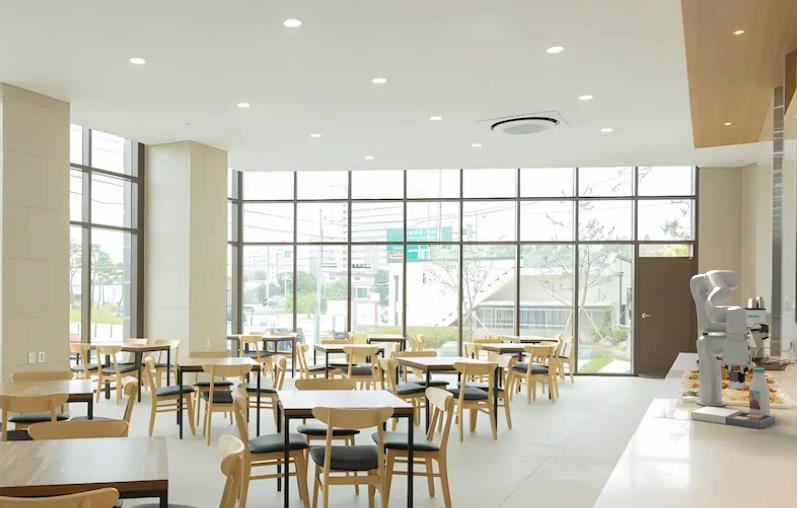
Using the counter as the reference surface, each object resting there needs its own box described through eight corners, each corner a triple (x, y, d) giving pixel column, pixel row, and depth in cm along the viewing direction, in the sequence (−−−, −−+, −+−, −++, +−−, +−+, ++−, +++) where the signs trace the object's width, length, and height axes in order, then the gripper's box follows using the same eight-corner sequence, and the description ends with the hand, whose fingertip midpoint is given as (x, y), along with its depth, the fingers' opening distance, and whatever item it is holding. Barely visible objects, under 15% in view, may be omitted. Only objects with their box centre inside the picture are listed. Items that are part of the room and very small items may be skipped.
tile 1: (737, 420, 293) (737, 415, 293) (750, 422, 289) (750, 417, 289) (732, 422, 290) (732, 417, 290) (745, 424, 286) (745, 419, 286)
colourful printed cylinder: (765, 413, 310) (764, 366, 310) (772, 417, 302) (772, 369, 303) (746, 413, 311) (745, 366, 311) (753, 416, 303) (752, 369, 303)
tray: (741, 417, 301) (741, 411, 301) (774, 422, 292) (774, 416, 292) (726, 423, 290) (726, 417, 290) (761, 428, 281) (760, 422, 281)
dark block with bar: (739, 387, 301) (740, 370, 302) (747, 388, 299) (747, 371, 300) (726, 388, 291) (726, 370, 291) (733, 389, 288) (734, 371, 289)
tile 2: (763, 415, 293) (763, 420, 293) (750, 413, 297) (751, 418, 297) (759, 417, 290) (759, 422, 290) (746, 415, 293) (746, 420, 293)
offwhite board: (706, 413, 311) (706, 406, 311) (740, 417, 301) (740, 410, 301) (691, 418, 300) (691, 411, 300) (725, 423, 290) (725, 416, 290)
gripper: (760, 338, 292) (761, 383, 292) (719, 335, 304) (720, 378, 303) (754, 339, 287) (754, 385, 287) (712, 337, 298) (713, 381, 298)
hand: (737, 381), depth 295 cm, fingers closed on dark block with bar, 3 cm apart
